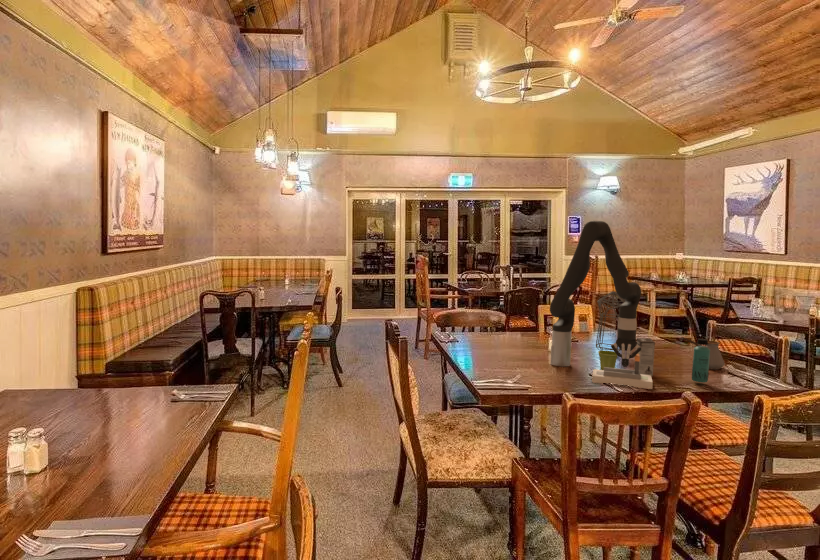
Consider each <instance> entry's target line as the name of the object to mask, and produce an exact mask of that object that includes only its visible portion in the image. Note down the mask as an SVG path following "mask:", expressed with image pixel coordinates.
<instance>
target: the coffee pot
mask: <svg viewBox="0 0 820 560" xmlns="http://www.w3.org/2000/svg"><path fill="white" fill-rule="evenodd" d="M679 340H680V342H682V341H683V340H684V341H686V342H688V343H690V344H693V345H695V346H704V347H708V348H709V349H710V357H709V370H720V369H721V368H723V367H724V366H725V365H726V363H725V361H724V358H723V356H722V354H721V350H720V348H719V345H721V342H719V341H714V340H708V345H701V344H697V342H695V341H693V340H692V339H688V338H687V337H683V336H681V337H680V338H679Z"/></svg>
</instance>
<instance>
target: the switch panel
mask: <svg viewBox="0 0 820 560" xmlns="http://www.w3.org/2000/svg"><path fill="white" fill-rule="evenodd" d="M632 372H634V369H625V368H616V367H615V368H608V367H604V370H601V369H594V368H593V370H592V375H591V376H592V377H591V381H592V382H591V383H594V384H603V383H616V384H624V385H629V386H634V387H633V388H637V387H638V389H639V388H640V389H645V390H646V389H648V390H653V379H652V376H651V375H644V374H640V375H639V374H632ZM639 372H640V371H639Z"/></svg>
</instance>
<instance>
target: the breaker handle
mask: <svg viewBox="0 0 820 560" xmlns="http://www.w3.org/2000/svg"><path fill="white" fill-rule="evenodd" d="M639 362H640V356H639V354H637V355H636V356H635V357H634V367H633V368H634V369H633V370H634V372H632V374H639V375H640V372H639Z"/></svg>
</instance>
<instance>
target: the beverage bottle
mask: <svg viewBox="0 0 820 560" xmlns="http://www.w3.org/2000/svg"><path fill="white" fill-rule="evenodd" d="M696 341H697V342H696V343H697V344H700V345H702V346H698V345H695V346H694V348H693V358H692V368H691V380H692V381H693V382H698V383H708V381H709V371H710V369H709V357H710V349H709V348H708V347H706V345H708V341H709V340H708V339H705V338H698V339H697V340H696ZM704 346H705V347H704Z"/></svg>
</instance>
